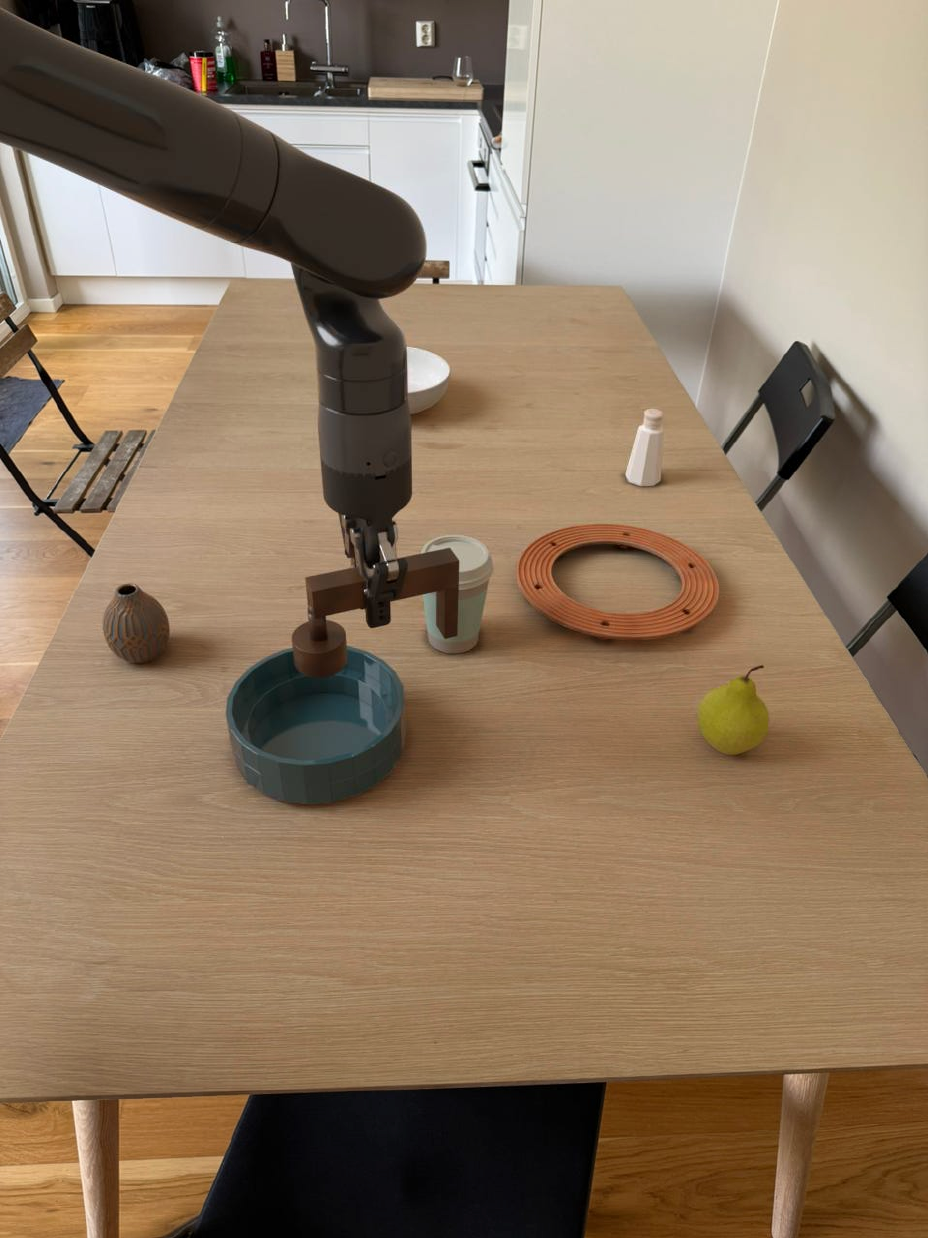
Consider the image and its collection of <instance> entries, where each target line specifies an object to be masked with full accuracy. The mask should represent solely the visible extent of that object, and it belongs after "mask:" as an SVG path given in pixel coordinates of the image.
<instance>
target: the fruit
mask: <svg viewBox="0 0 928 1238" xmlns="http://www.w3.org/2000/svg"><path fill="white" fill-rule="evenodd" d="M764 668H765V667H764V665H762V664H761V665H758V666H754V667H751V669H750V670H749V671H748V672H747V674H746V675H739V676H736V677H735V678H733V679H732V680H731V681H729V682H728V683H727V684H724V685H720V686H718V687H715V688H713V689H711V690H710V691H708V692H707V693H706V694H705V695H704V696H703V698H702V700H701V702H700V705H699V707H698V709H697V710H698V711H697V724H698V728H699V731H700V733H701V735H702V737H703V739H705V741H706V742H707V743H708V744H710V746H711V747H712V748H713V749H715V750H717V751H719V752H720V753H723V754H725V755H730V756H731V755H738V754H742V753H745V752H747V751H750V750H752V749H754V748H756V747H757V746H758V745H759V744H761V742H762V741H763V740H764V738H765V737H766V736H767V734H768V731H769V725H770V715H769V710H768V707H767V706H766V704H765V702H764V701H763V700H762V698H761V697H760V696H759V695H757V687H756V683H755V682H754V680H753V679H752V678H750V677H749V676H750V675H751V673H752V672H754V671H758V670H760V669H764Z"/></svg>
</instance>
